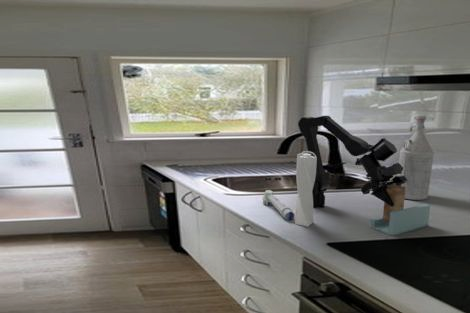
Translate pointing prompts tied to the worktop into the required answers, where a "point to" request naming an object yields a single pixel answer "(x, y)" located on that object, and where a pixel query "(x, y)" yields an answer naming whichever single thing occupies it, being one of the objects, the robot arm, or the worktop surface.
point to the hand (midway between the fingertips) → (397, 204)
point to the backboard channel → (403, 220)
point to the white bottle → (416, 162)
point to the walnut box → (394, 200)
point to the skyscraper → (305, 187)
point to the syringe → (278, 205)
